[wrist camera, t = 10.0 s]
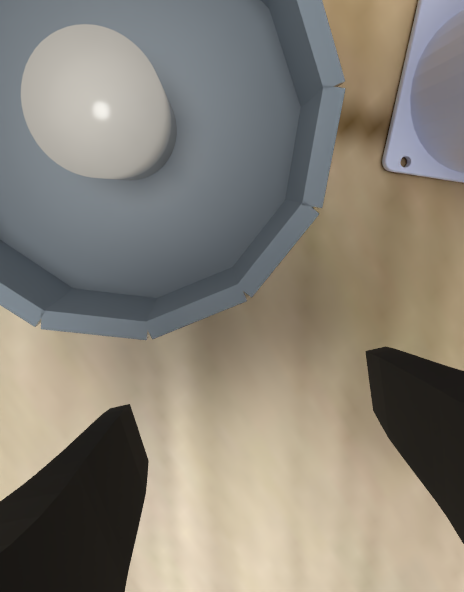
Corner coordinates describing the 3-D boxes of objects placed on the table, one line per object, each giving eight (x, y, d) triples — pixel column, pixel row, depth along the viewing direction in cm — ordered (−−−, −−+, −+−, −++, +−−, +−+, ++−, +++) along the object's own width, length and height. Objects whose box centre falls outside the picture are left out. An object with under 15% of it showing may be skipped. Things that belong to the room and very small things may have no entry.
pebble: (180, 79, 17) (169, 36, 12) (172, 185, 18) (159, 185, 13) (74, 64, 16) (18, 13, 11) (74, 174, 17) (22, 169, 13)
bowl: (340, -45, 17) (387, -127, 12) (275, 320, 21) (293, 355, 17) (-73, -130, 15) (-186, -257, 11) (-51, 283, 19) (-125, 311, 15)
